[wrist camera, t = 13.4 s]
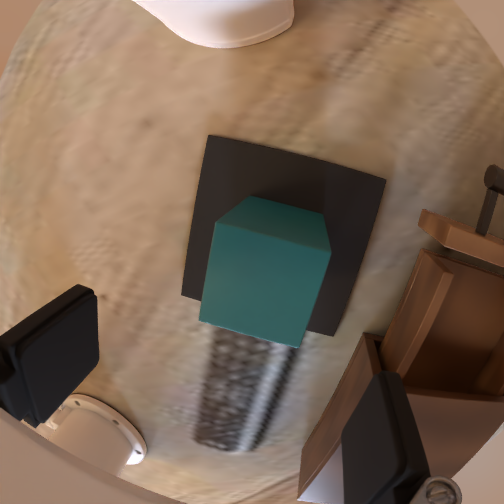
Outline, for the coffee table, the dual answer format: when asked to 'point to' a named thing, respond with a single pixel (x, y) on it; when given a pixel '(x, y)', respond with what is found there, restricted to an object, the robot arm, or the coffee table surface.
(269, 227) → the box
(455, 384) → the drawer
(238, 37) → the jar
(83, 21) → the coffee table surface
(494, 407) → the cabinet
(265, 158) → the mat
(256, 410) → the coffee table surface
